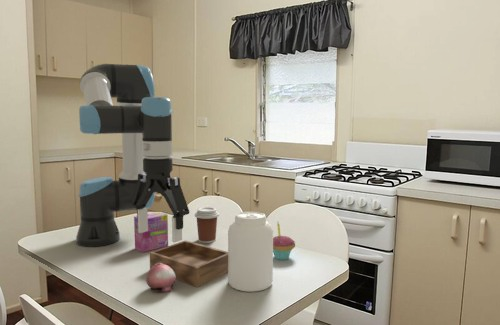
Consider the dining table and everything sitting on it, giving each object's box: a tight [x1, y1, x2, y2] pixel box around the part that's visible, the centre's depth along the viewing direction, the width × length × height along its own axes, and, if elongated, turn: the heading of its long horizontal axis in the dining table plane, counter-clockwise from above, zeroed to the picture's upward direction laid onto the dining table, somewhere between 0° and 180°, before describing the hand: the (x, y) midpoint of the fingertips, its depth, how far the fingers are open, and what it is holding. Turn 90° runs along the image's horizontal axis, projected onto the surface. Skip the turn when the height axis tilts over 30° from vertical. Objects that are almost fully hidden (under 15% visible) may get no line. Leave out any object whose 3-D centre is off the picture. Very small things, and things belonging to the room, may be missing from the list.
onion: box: [146, 263, 176, 293], centre depth 110 cm, size 8×8×7 cm
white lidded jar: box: [227, 211, 274, 293], centre depth 113 cm, size 12×12×20 cm
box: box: [133, 211, 169, 253], centre depth 143 cm, size 10×6×12 cm, turn 131°
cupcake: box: [273, 222, 296, 261], centre depth 134 cm, size 9×8×12 cm
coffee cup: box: [194, 206, 220, 244], centre depth 151 cm, size 9×9×12 cm
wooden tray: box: [149, 240, 228, 288], centre depth 123 cm, size 20×15×6 cm
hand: (159, 236), depth 108 cm, fingers open, 13 cm apart
